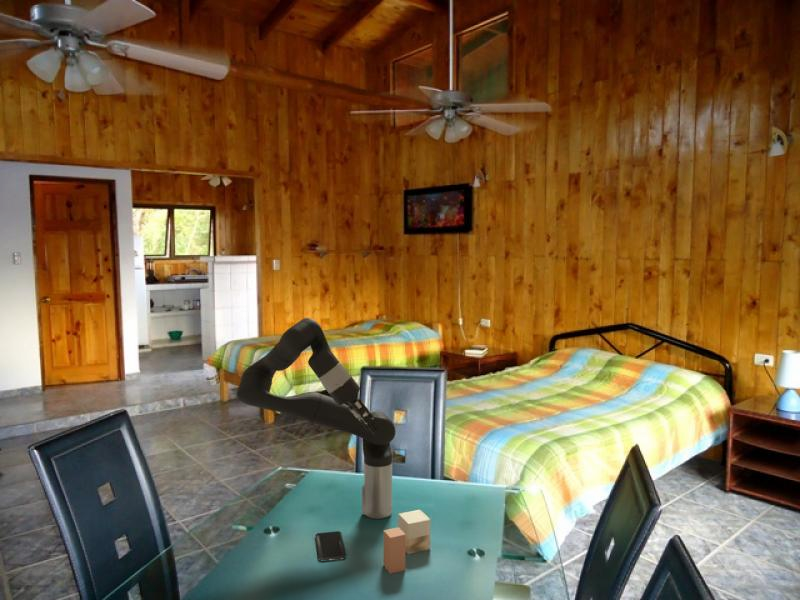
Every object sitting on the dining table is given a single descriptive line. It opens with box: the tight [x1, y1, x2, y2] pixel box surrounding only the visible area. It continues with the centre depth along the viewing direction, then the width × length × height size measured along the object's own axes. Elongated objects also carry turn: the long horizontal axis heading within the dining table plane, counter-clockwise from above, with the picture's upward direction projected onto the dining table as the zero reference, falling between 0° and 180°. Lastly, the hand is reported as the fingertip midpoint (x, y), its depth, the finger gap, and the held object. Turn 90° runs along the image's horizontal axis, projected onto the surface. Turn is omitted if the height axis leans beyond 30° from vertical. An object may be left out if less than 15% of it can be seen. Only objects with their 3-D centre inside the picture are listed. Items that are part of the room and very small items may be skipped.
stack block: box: [382, 526, 406, 574], centre depth 156 cm, size 4×4×10 cm
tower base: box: [405, 534, 431, 555], centre depth 168 cm, size 7×7×4 cm
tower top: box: [397, 509, 432, 539], centre depth 168 cm, size 7×7×4 cm
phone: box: [315, 530, 347, 560], centre depth 167 cm, size 8×1×15 cm
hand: (375, 431), depth 155 cm, fingers open, 8 cm apart
